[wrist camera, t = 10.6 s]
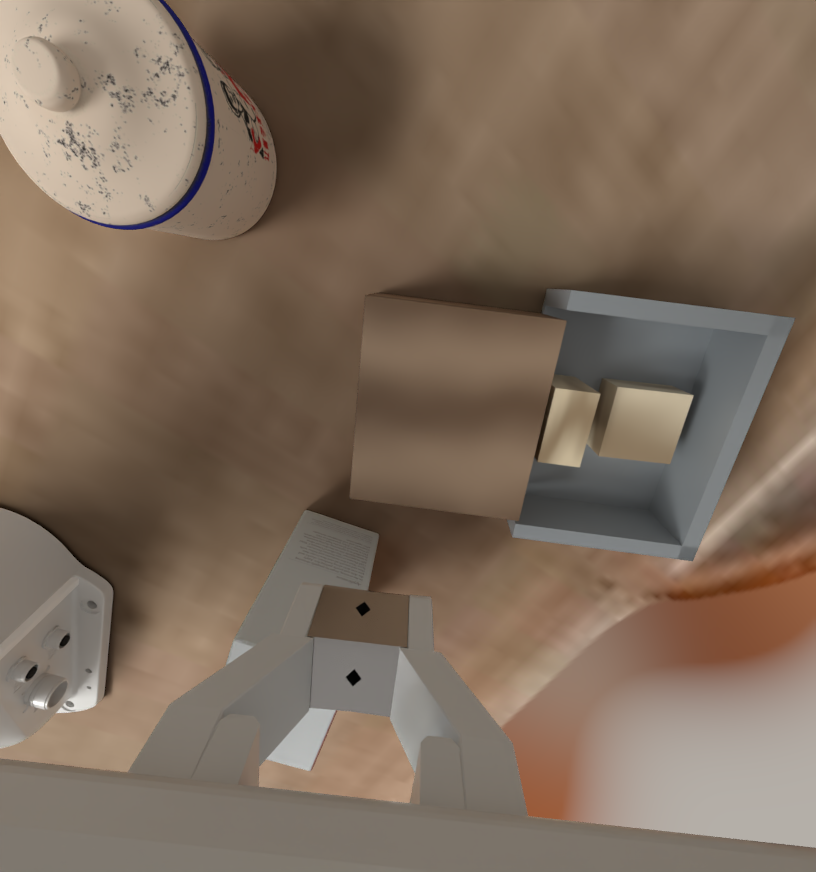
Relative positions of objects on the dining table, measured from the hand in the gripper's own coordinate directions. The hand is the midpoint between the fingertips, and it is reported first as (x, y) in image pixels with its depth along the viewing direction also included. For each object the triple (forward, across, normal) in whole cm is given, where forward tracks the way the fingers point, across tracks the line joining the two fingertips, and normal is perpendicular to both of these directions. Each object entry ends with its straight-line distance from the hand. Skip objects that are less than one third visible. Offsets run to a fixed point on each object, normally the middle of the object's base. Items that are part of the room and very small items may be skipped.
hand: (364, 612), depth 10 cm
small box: (+22, -4, -14) cm, 26 cm away
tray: (+20, +14, +1) cm, 25 cm away
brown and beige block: (+21, +3, +1) cm, 21 cm away
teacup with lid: (+21, -14, +14) cm, 29 cm away
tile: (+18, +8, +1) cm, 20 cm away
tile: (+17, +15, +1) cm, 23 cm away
